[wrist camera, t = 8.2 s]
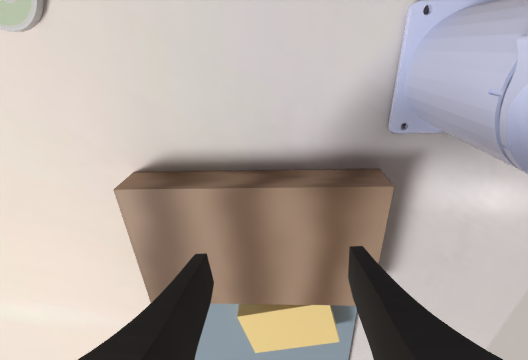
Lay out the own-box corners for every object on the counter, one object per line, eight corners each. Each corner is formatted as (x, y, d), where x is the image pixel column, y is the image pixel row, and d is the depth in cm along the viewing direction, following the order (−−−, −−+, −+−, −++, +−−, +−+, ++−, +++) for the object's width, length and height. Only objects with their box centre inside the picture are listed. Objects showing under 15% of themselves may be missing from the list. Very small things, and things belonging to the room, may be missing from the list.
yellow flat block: (325, 285, 26) (328, 302, 25) (335, 323, 29) (339, 341, 27) (239, 299, 28) (237, 316, 26) (256, 335, 30) (255, 353, 29)
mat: (359, 283, 27) (361, 286, 26) (345, 369, 33) (345, 373, 33) (164, 281, 28) (162, 284, 27) (188, 365, 34) (187, 368, 34)
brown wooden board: (379, 168, 21) (394, 186, 18) (360, 279, 26) (370, 305, 24) (133, 172, 22) (113, 189, 19) (163, 277, 27) (150, 302, 25)
